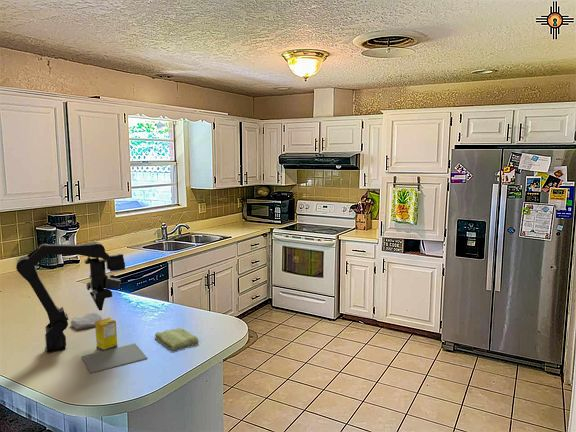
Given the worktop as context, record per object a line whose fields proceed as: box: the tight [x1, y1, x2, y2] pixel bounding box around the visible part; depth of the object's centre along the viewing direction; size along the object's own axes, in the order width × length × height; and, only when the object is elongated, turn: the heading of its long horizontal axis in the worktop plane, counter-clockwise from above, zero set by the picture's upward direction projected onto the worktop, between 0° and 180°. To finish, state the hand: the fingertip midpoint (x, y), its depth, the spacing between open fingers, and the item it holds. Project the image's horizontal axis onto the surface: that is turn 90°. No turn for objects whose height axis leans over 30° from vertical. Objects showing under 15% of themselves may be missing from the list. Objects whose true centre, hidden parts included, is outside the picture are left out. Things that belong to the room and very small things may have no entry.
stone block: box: [70, 312, 103, 330], centre depth 198 cm, size 12×5×10 cm
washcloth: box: [154, 327, 199, 351], centre depth 180 cm, size 13×18×3 cm
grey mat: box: [81, 343, 148, 374], centre depth 164 cm, size 20×16×1 cm
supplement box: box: [95, 317, 118, 351], centre depth 173 cm, size 6×6×11 cm
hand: (100, 309), depth 179 cm, fingers closed
